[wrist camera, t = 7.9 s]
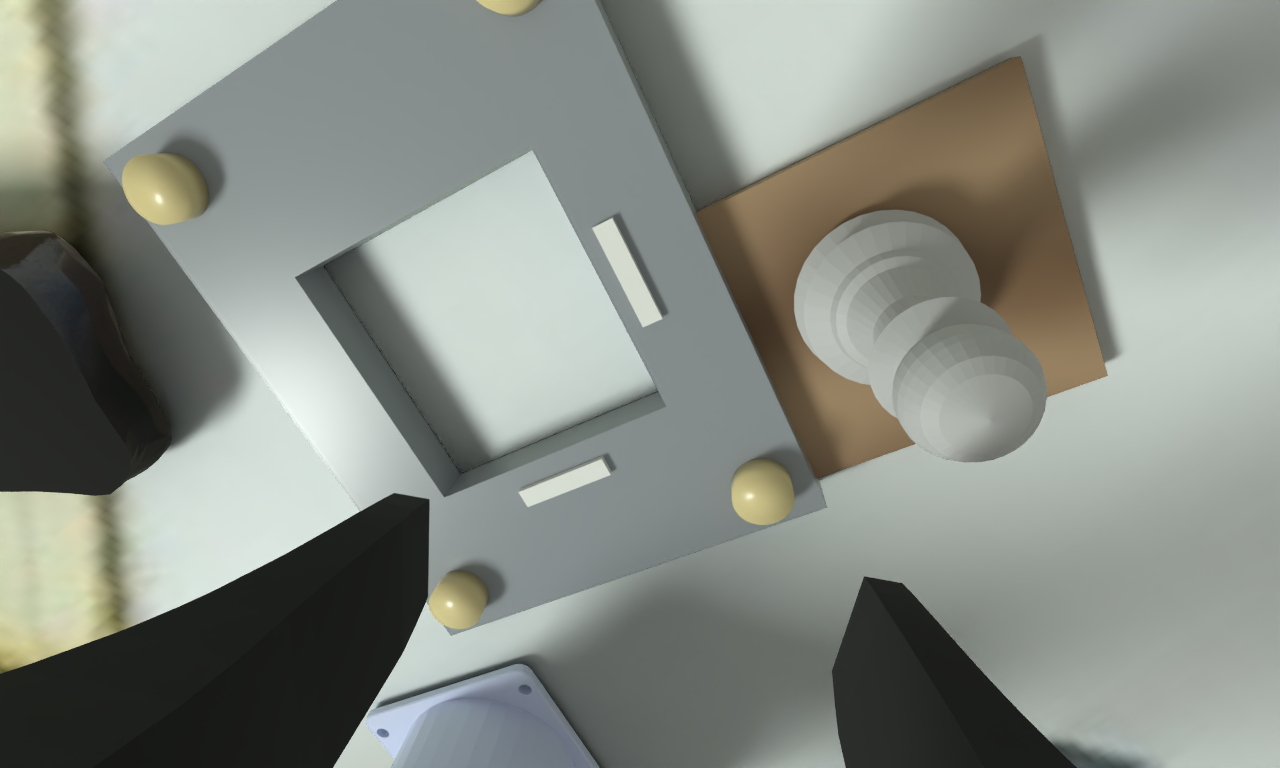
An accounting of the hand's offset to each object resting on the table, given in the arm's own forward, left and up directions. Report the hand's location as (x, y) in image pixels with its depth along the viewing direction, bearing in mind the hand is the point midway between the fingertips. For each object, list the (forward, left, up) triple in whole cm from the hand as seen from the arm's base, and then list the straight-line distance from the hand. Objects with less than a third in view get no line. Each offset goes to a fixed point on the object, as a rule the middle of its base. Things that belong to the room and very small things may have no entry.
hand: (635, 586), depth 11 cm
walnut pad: (-1, -7, -10) cm, 12 cm away
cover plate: (+3, +4, -10) cm, 12 cm away
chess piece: (0, -6, -10) cm, 12 cm away
